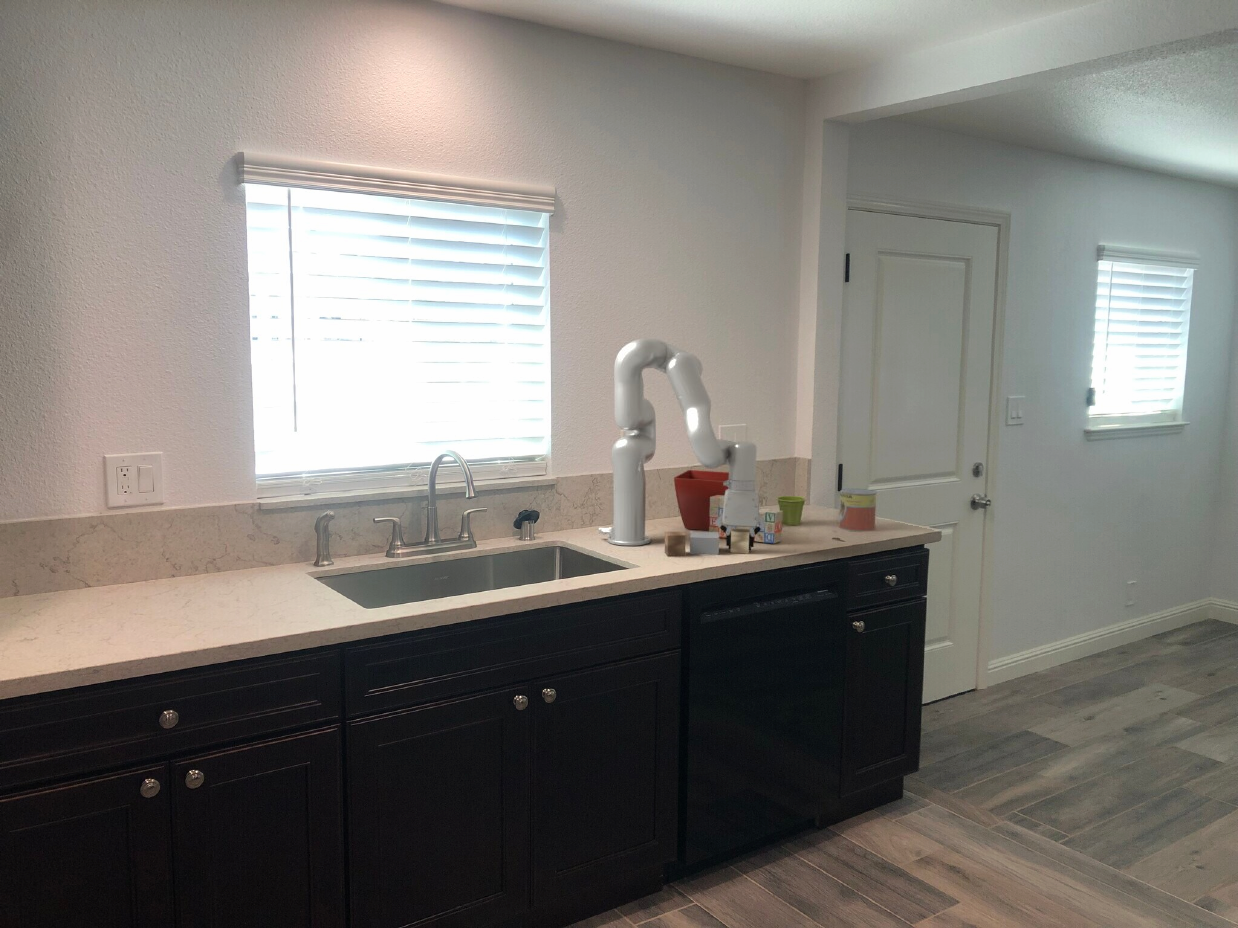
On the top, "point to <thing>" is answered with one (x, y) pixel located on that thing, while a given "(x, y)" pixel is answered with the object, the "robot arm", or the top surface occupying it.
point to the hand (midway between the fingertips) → (739, 548)
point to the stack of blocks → (764, 535)
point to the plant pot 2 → (791, 509)
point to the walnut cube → (675, 544)
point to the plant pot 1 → (698, 496)
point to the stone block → (704, 543)
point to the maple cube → (739, 540)
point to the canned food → (857, 510)
